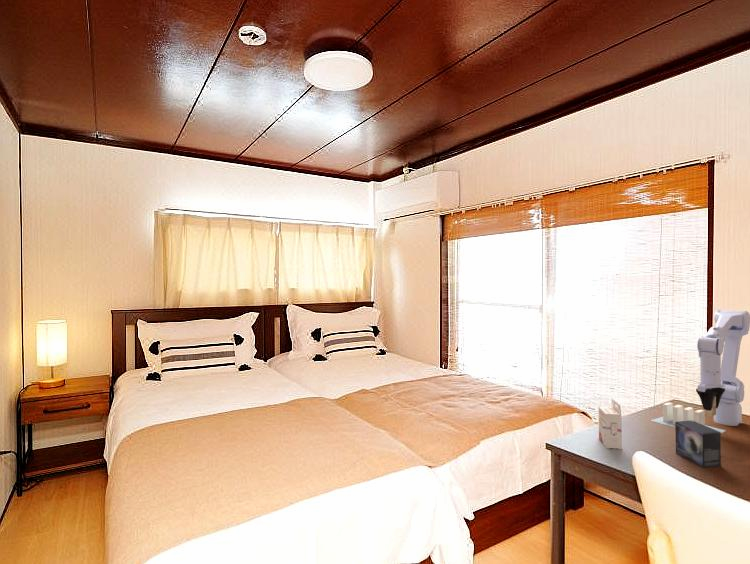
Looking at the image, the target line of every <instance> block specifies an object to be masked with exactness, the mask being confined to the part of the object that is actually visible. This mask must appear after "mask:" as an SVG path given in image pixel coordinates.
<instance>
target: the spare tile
mask: <svg viewBox="0 0 750 564" xmlns="http://www.w3.org/2000/svg"><path fill="white" fill-rule="evenodd" d="M704 411H705V416H706V417H709V418H710V417H714V415H716V397H714V400H713V405H712V410H711V411H709V410H705V409H704Z"/></svg>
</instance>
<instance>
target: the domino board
mask: <svg viewBox="0 0 750 564" xmlns="http://www.w3.org/2000/svg"><path fill="white" fill-rule="evenodd" d="M649 421H650V422H653V423H657V424H661V425H664V426H668V427H671V428H675V424H673V420H671V421H669V422H665V421H663V415H662V416H660V417H657V418H654V419H651V420H649ZM705 426H707V427H709V428H712V429H714V430H717V431H719V432H721V434H723V433H726V432H727V430H725V429H721V428H717V427H714V426H709V425H706V424H705Z"/></svg>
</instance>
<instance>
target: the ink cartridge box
mask: <svg viewBox="0 0 750 564" xmlns="http://www.w3.org/2000/svg"><path fill="white" fill-rule="evenodd" d="M611 403H612V406H600V405H599V406H598V439H599V441H600V440H601V441H600V442H601V443H602V445H603V446H604V445H605V446H606V447H605V446H604V447H605V449H610V448H619V449H618V450H622V449H623V440H622V439H623V438H622V437H623V436H622V435H623V434H622V431H623V430H622V429H623V428H622V427H623V426H622V410H621V404H619V403H618V401H616V400H615V399H614V398H611Z"/></svg>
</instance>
